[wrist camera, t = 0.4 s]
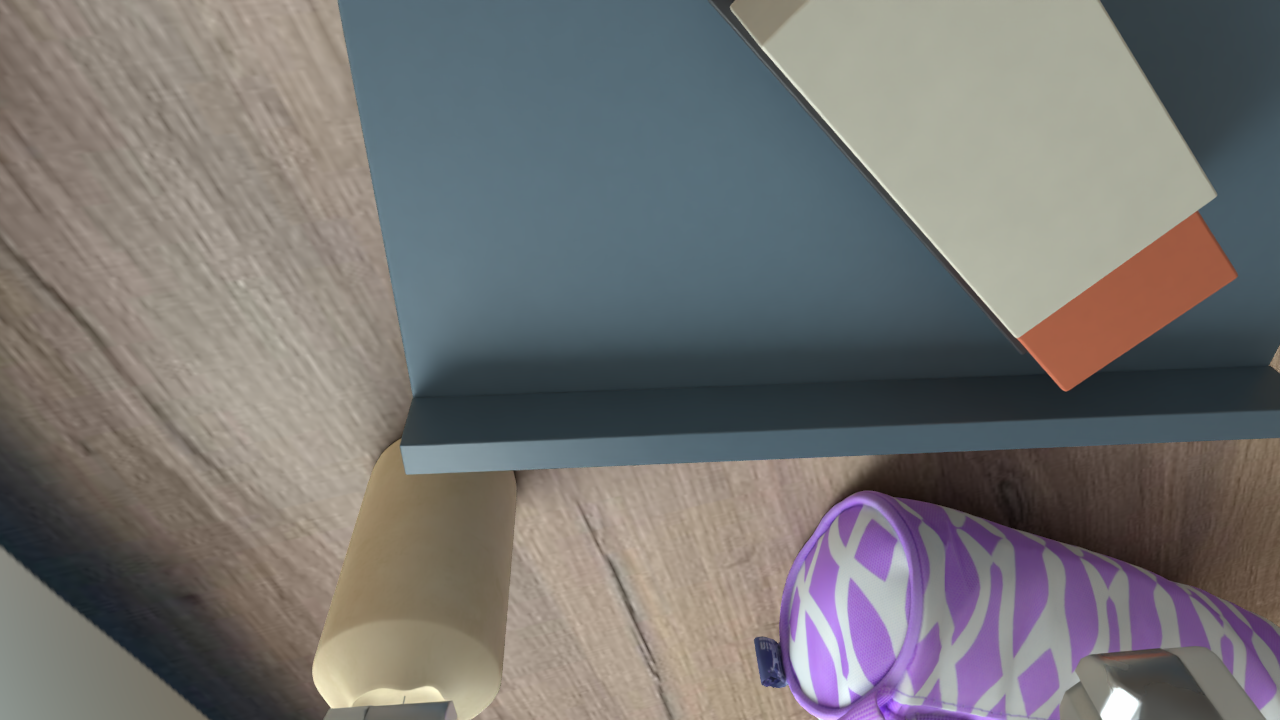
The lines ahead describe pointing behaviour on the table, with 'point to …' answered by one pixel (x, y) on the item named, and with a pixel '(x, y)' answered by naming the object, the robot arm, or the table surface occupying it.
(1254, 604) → the table surface
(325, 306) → the table surface
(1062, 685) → the pencil case
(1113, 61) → the cream and orange block
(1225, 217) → the grey lipped base tray
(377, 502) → the candle
